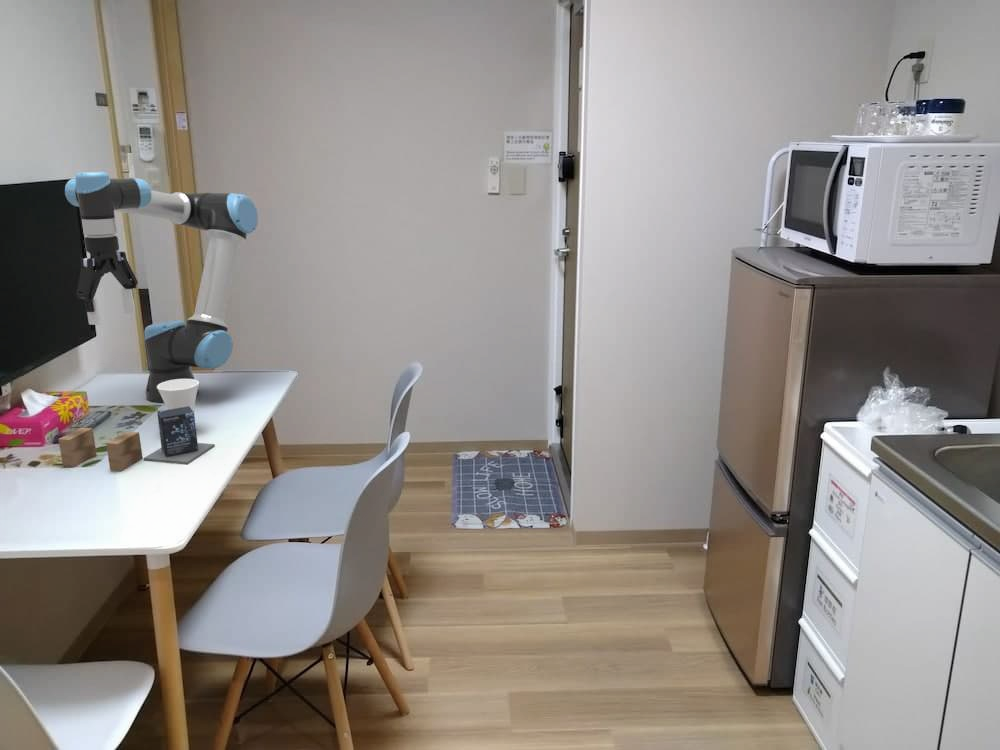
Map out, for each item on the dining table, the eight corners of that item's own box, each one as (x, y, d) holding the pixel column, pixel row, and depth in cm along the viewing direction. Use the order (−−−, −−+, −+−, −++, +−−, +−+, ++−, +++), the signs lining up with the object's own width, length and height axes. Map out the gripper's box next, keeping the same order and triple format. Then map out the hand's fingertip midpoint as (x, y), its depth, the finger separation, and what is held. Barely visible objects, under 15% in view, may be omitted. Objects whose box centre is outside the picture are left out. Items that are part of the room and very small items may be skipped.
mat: (172, 442, 200) (172, 440, 200) (214, 446, 198) (214, 444, 198) (143, 460, 189) (143, 458, 189) (187, 464, 187) (187, 462, 187)
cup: (164, 441, 201) (158, 392, 198) (161, 428, 210) (155, 381, 206) (206, 434, 206) (201, 386, 202) (201, 422, 215) (196, 376, 211)
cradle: (86, 453, 193) (81, 427, 191) (142, 458, 190) (138, 432, 188) (62, 465, 186) (58, 438, 184) (121, 471, 183) (117, 444, 181)
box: (165, 457, 189) (160, 417, 186) (161, 450, 194) (156, 410, 191) (199, 451, 193) (194, 411, 190) (194, 444, 198) (189, 405, 195)
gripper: (120, 230, 204) (131, 308, 210) (50, 241, 181) (65, 328, 187) (145, 230, 203) (155, 309, 209) (78, 242, 179) (92, 330, 186)
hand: (112, 318), depth 198 cm, fingers open, 13 cm apart
